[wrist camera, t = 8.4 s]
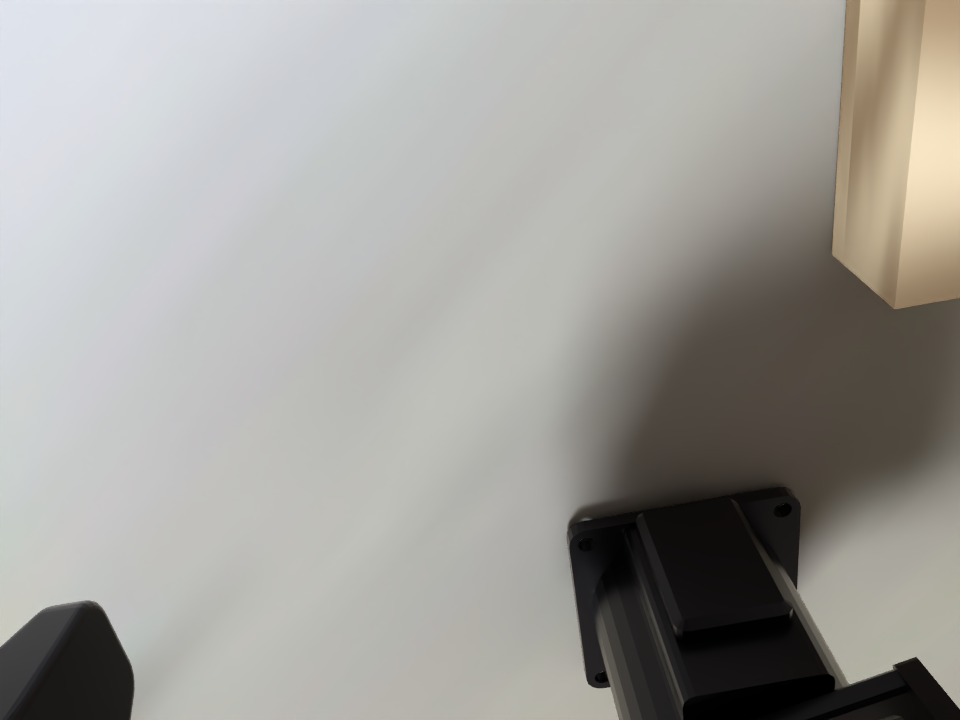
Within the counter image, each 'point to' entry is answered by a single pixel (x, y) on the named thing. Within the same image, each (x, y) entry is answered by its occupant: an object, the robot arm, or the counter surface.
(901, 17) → the wooden socket board
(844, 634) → the counter surface
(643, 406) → the counter surface
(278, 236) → the counter surface
